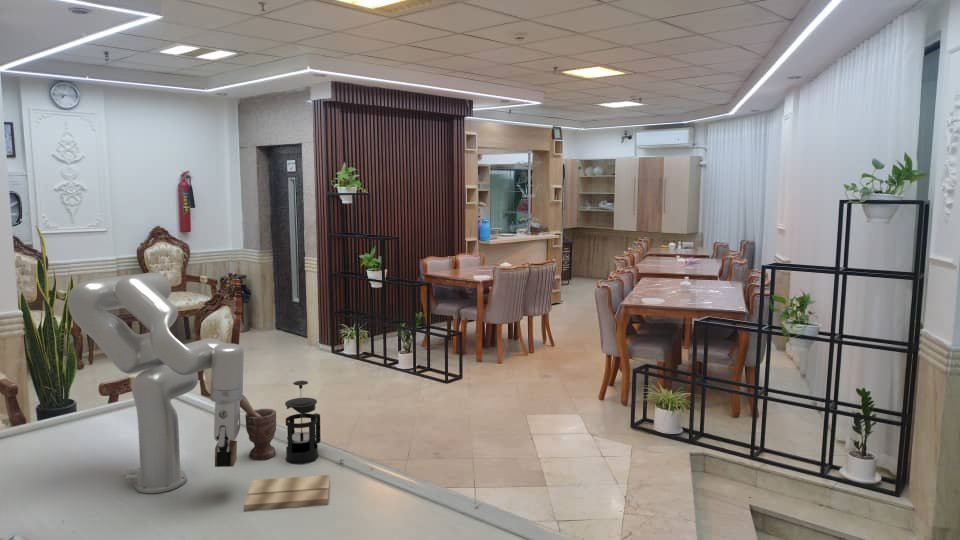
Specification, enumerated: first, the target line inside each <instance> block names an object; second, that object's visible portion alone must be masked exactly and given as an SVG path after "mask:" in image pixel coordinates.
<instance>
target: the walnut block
mask: <svg viewBox="0 0 960 540" xmlns="http://www.w3.org/2000/svg"><path fill="white" fill-rule="evenodd" d="M225 444H226V445H227V442H225ZM237 445H238V441H237V440H234V441H230V451H231V465H230V466H229V467H230V468H232V467H234V466H235V464H236V461H237V456H238V455H237V453H238V452H237V448H238V446H237ZM217 450H218V442H217V443H216V445H215V448H214V467H215V468H219V467H218V466H217Z"/></svg>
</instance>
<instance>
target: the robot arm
mask: <svg viewBox="0 0 960 540" xmlns="http://www.w3.org/2000/svg"><path fill="white" fill-rule="evenodd" d="M171 285H172V284H171V283H170V281H169V280H168V278H167V277H165V276H164V275H163V274H162V273H159V272H145V273H138V274H125V275H116V276H110V277H102V278H96V279H95V278H94V279H90V280H89V279H88V280H85V281H82V282H80V283H78V284H76V285H74V286H73V287H72V288H71V289H70V291H69V292H68V296H67V307H68V312H69V315H70V316H71V318H72V320H73V321H74V323H75V324H76V326H78V327H79V328H80V329H81V331H83V332H84V333H85V334H86V335H88V336H89V338H91V339H92V340H93V341H94V342H95V344H96V345H97V346H98V347H99V348H100V350H102V352H103V353H104V354H105V355H106V357H108V359H109V360H110V361H111V362H112V363H113V364H114V366H115V367H116V368H117V369H118V370H119V371H120V372H122V373H123V374H124V373H125V374H128V375H129V374H135V373H138V372H140V373H138V374H137V375H136V376H135V377H134V379H133V381H132V383H131V393H132V396H133V397H132V398H133V400H134V401H133V402H134V404H135V410H136V415H137V417H136V418H137V430H138V447H139V448H138V449H139V467H137V468H136V469H124V471H123V478H125V480H126V481H129V480H135V481H134V490H136V491H137V492H140V493H142V494H158V493H164V492H170V491H172V490H175V489H177V488H179V487H181V486H183V485H184V484H185V483H186V482H187V481H188V476H187V473H186V472H184V471H182V470H181V457H180V456H181V454H180V434H179V433H180V430H179V428H180V427H179V417H178V413H177V410H176V408H175V406H173V404H172V402H171V401H172V400H173V399H175V398H178V397H180V396H182V395H185V394H188V393H190V392H191V391H193V390H194V389H195V388H196V387H197V385H198V382H199V374H198V373H199V372H202V371H205V370H208V369H211V370H210V371H211V372H210V373H211V375H210V377H211V378H210V380H211V383H210V386H211V387H210V400H211V402H213V403H215V405H214V421H213V422H214V425H213V427H214V429H213V436H214V437H213V438H214V440H215V441H216V442H217V443H218V450H217V466H218V467H217V468H221V467H224V468H227V467H229V466H230V465H231V451H230V441H236V439H237V437H238V434H239V432H240V430H241V407H240V400H242V398H243V395H244V362H245V361H244V358H245V357H244V352H245V351H244V348H243V347H242V346H241V344H237V343H227V342H225V341H221V340H219V339H217V338H213V337H207V338H202V339H199V340H196V341H193V342H188V343H185V344H184V343H182V342H181V341H180V339H179V340H178V338H177V337H175V335H174V334H173V333H172V332H171V330H170V328H171V327H172V326H173V324H174V323H175V322H176V320H177V318H178V316H179V310H178V308H177V307H176V305H174V304H173V303H172V302H171V301H170V300H169V299H168V298H170V295H171V294H172V286H171ZM121 307H123V308H124V309H125V310H127V312H129V314H131V315H132V316H133V317H134V318H135V319H137V320H138V321H139V322H140V323H141V325H143V326H145V328H146V329H147V330H148V331H149V332H147V333H141V334H138V333H136V332H134V330H132V329H131V327H129V326H128V324H127V323H126V322H125V321H124V320H123V319H122V318H120V317H119V316H116V315H115V314H112V313H110V312H109V311H107V310H110V309H111V310H112V309H116V308H117V309H118V308H121ZM225 442H227V445H226V444H225Z"/></svg>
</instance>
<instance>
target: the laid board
mask: <svg viewBox="0 0 960 540" xmlns="http://www.w3.org/2000/svg"><path fill="white" fill-rule="evenodd" d="M329 495H330V487H329V488H326V489H312V490H299V491H285V492H271V493H258V494H248V493H247V494H246V498H245V501H244V504H243V512H249V511H250V512H251V511H252V512H253V511H263V510H276V509H286V508H287V509H288V508H289V509H291V508H302V507H316V506H327V505H329Z"/></svg>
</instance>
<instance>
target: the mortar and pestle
mask: <svg viewBox="0 0 960 540" xmlns="http://www.w3.org/2000/svg"><path fill="white" fill-rule="evenodd" d="M240 409H242V410H243V411H244V412H245V415H244V417H245V429H246V432H247V436H248V439H249V441H250V442H251V443H253V445H254V446H253V448H251V450H250V451H249V455H248V456H249V458H250V459H252V460H255V461H262V460H267V459H271V458H273V457H274V456H276V453H277V451H276V448H275V447H274V446H273V445H271V442H272V441H273V439H274V437H275V434H276V431H277V410H275V409H273V408H258V409H254V408H253V406H252V405H251V403H250V401H249V400H248V398H247V397H246V396H245V395H244V394H243V398H242V400H240Z"/></svg>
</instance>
